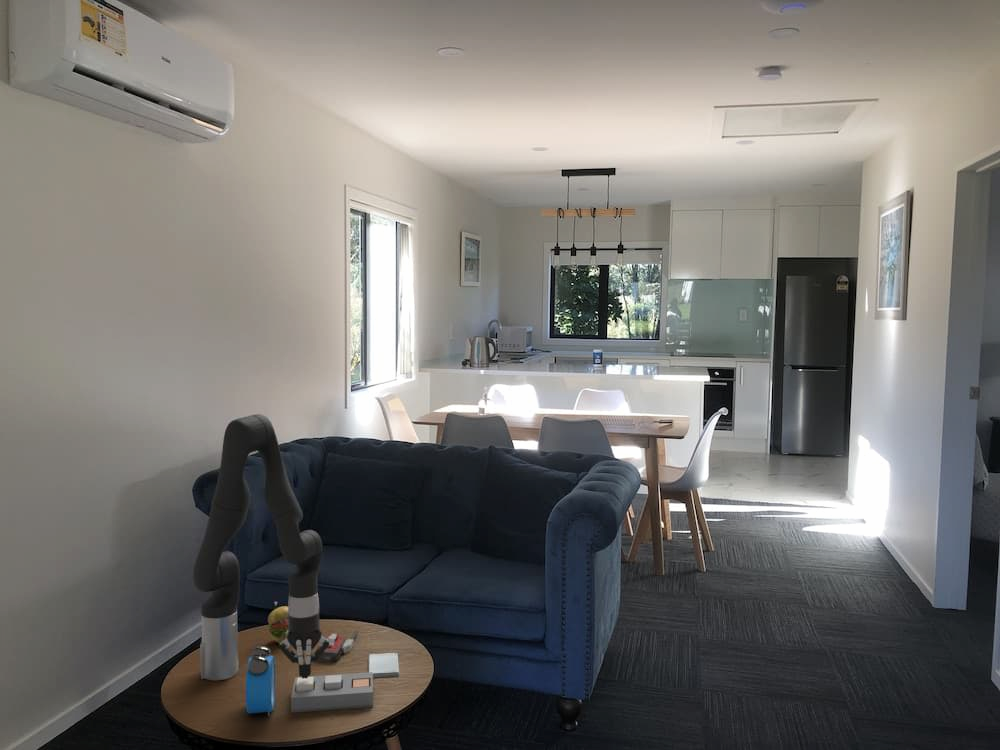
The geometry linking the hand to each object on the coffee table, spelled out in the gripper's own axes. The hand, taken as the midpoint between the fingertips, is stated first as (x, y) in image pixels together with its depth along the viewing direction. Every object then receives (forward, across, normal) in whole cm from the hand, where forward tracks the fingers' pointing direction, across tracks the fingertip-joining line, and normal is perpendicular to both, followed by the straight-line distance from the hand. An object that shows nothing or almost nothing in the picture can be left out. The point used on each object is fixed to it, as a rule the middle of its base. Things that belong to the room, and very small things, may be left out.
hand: (305, 676), depth 204 cm
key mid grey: (+4, +7, 0) cm, 8 cm away
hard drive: (+7, +20, +17) cm, 27 cm away
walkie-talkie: (+7, +7, +31) cm, 32 cm away
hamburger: (+6, -10, +38) cm, 40 cm away
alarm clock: (+7, -11, -3) cm, 13 cm away
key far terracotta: (+6, +14, 0) cm, 15 cm away
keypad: (+6, +7, 0) cm, 9 cm away
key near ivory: (+4, 0, 0) cm, 4 cm away
